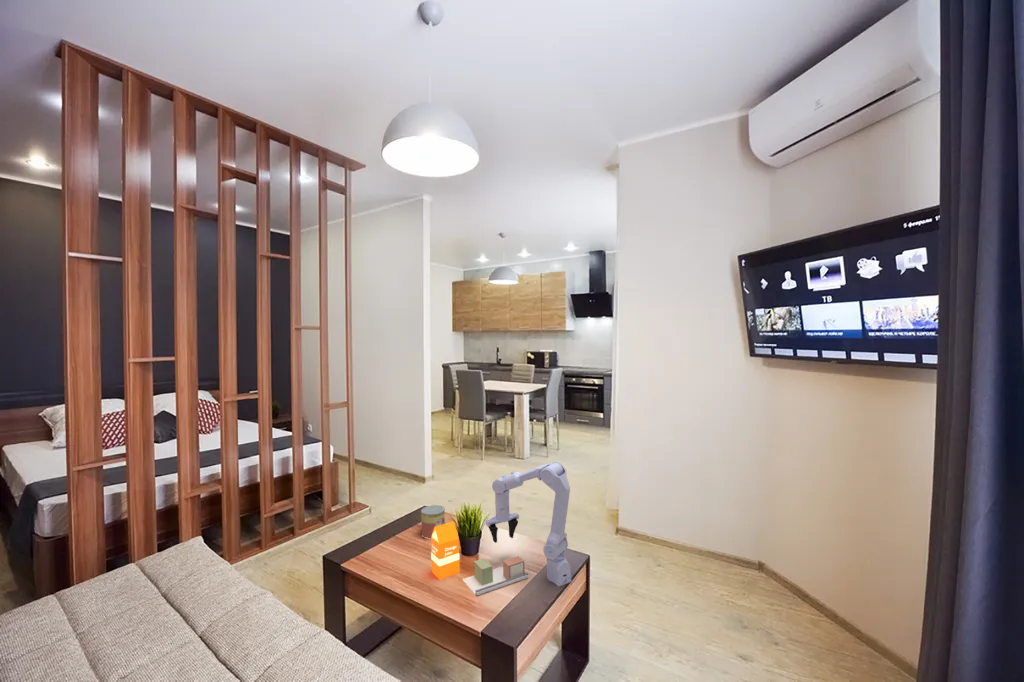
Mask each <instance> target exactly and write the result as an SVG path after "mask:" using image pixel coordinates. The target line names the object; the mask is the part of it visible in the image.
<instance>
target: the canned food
mask: <svg viewBox="0 0 1024 682" xmlns="http://www.w3.org/2000/svg"><path fill="white" fill-rule="evenodd" d="M445 509H446V508H445V507H444V506H442V505H435V504H434V505H428V506H425V507H423V508H422V509H421V510H420V514H421V515H420V516H421V536H422V535H423V536H424V537H428V538H431V536H432V533H433V530H434V528H435V527H436V526H439V525H443V524H446V523H445V522H446V521H445V520H446V519H445V518H446V517H445V515H446V514H445Z"/></svg>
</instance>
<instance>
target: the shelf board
mask: <svg viewBox="0 0 1024 682" xmlns="http://www.w3.org/2000/svg"><path fill="white" fill-rule="evenodd" d="M527 579H529V573H528V572H525V574H522V575H519V576H516V577H513V578H511V579H508V580H507V579H506V578H505V577H504V576H503V565H502V566H498V567H496V568H493V582H491V583H488V584H485V585H481V583H480V582H479V581H478V580H477V579H476V578H475V577H474V575H471V576H468V577H465V578H462V581H463V582H464V584H465V585H466V586H467V587H468V588H469V589H470V591H472V593H473V594H474V595H475V596H476V597H479V596H481V595H484V594H487V593H490V592H493V591H495V590H498V589H501V588H504V587H507V586H509V585H512V584H515V583H518V582H521V581H524V580H527Z"/></svg>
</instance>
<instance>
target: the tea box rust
mask: <svg viewBox="0 0 1024 682" xmlns="http://www.w3.org/2000/svg"><path fill="white" fill-rule="evenodd" d="M502 566H503V576H504V577H505V578H506V579H507V580H508V579H511V578H513V577H516V576H519V575H522V574H525V573H526V572H525V560H523V558H521V557H520V556H519V555H517V556H514V557H510V558H508V559H503V561H502Z"/></svg>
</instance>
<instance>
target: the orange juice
mask: <svg viewBox="0 0 1024 682" xmlns="http://www.w3.org/2000/svg"><path fill="white" fill-rule="evenodd" d="M430 559H431V572H432V573H433V575H434V576H435V577H436V578H437V579H438V580H443V579H445V578H449V577H451V576H454V575H456V574H460V573H461V571H460V570H461V569H460V538H459V534H458V530H457V528H456V523H455V521H454V520H453V521H450V522H446V523H445V524H443V525H439V526H436V527H435V528H434V530H433V533H432V536H431V540H430Z"/></svg>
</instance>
